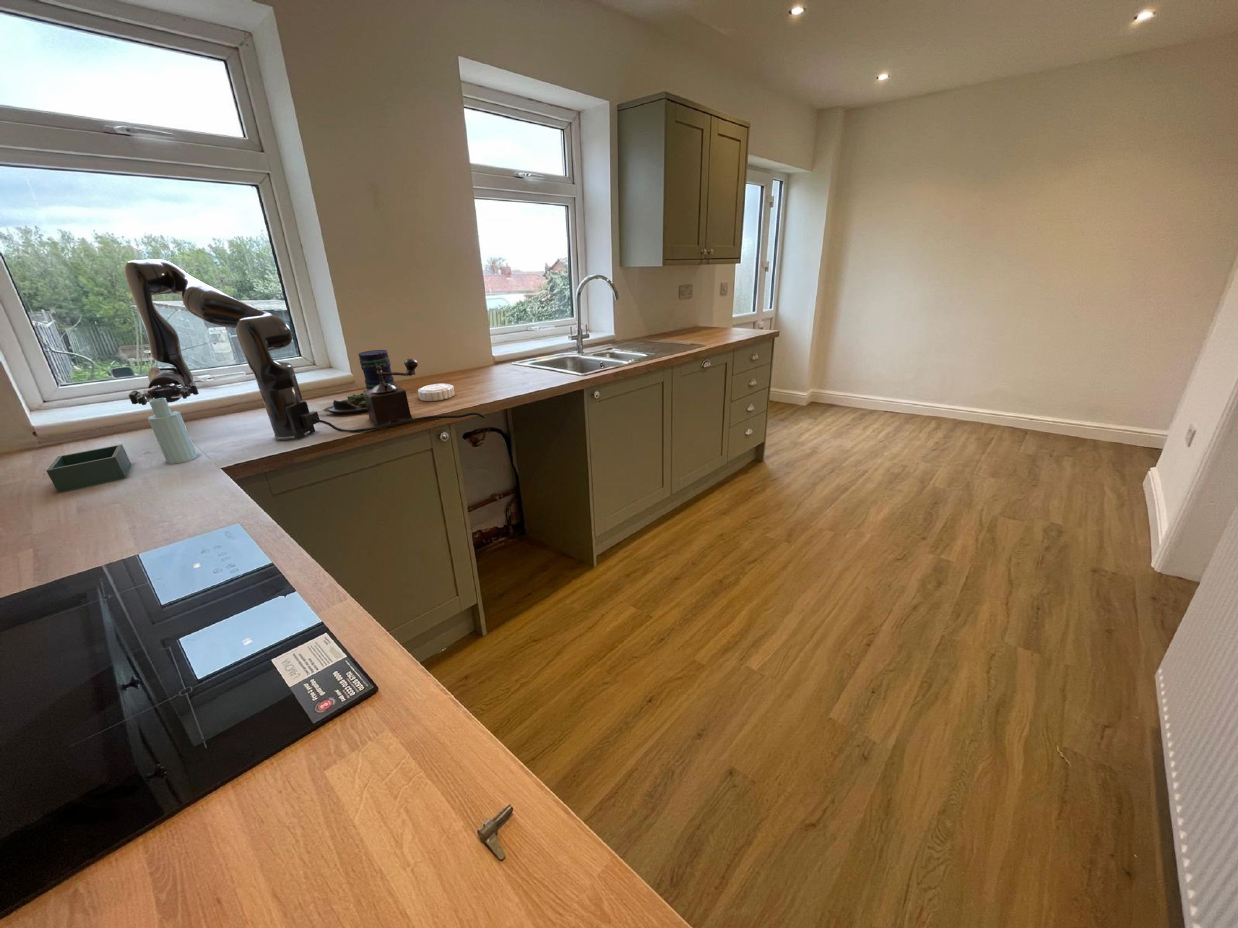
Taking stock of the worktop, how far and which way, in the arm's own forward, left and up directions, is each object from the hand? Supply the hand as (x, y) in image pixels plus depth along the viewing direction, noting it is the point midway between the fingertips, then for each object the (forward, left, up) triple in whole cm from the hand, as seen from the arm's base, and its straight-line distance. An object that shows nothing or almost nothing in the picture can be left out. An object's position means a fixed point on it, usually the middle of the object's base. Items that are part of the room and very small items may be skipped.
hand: (163, 398), depth 133 cm
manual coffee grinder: (-47, -31, -14) cm, 58 cm away
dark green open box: (+1, +20, -14) cm, 25 cm away
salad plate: (-25, -39, -14) cm, 48 cm away
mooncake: (-45, -55, -14) cm, 72 cm away
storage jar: (-20, -58, -14) cm, 63 cm away
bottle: (-9, +7, -14) cm, 18 cm away
